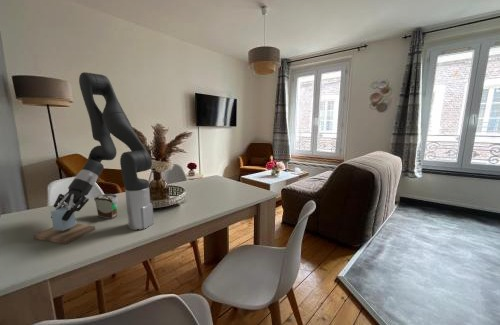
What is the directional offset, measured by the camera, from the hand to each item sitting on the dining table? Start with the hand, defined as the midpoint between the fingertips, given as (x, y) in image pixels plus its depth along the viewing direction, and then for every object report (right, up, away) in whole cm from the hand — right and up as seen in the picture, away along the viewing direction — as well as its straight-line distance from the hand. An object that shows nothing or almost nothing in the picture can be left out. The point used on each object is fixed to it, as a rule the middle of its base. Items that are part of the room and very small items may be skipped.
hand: (58, 219), depth 87 cm
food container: (+7, -4, +22) cm, 23 cm away
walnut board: (0, -7, +3) cm, 7 cm away
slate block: (0, -4, +2) cm, 5 cm away
